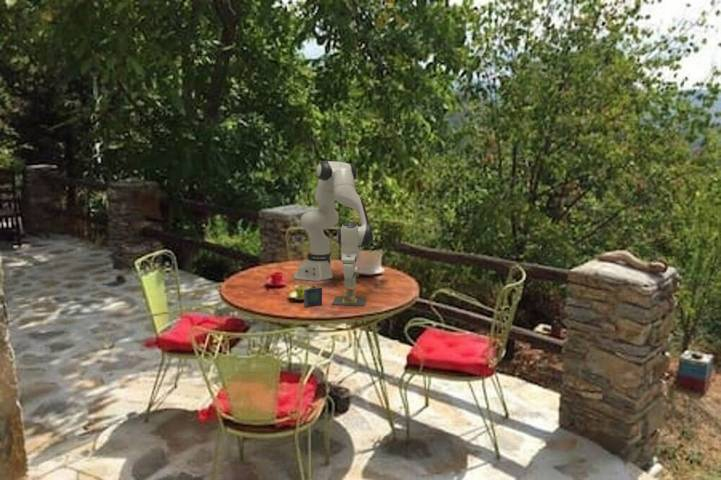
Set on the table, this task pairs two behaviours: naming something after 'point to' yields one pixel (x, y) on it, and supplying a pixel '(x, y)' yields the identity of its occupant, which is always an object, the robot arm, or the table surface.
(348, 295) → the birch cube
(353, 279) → the sage cube
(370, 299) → the table surface
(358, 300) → the mat
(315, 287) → the dark blue box
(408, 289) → the table surface
